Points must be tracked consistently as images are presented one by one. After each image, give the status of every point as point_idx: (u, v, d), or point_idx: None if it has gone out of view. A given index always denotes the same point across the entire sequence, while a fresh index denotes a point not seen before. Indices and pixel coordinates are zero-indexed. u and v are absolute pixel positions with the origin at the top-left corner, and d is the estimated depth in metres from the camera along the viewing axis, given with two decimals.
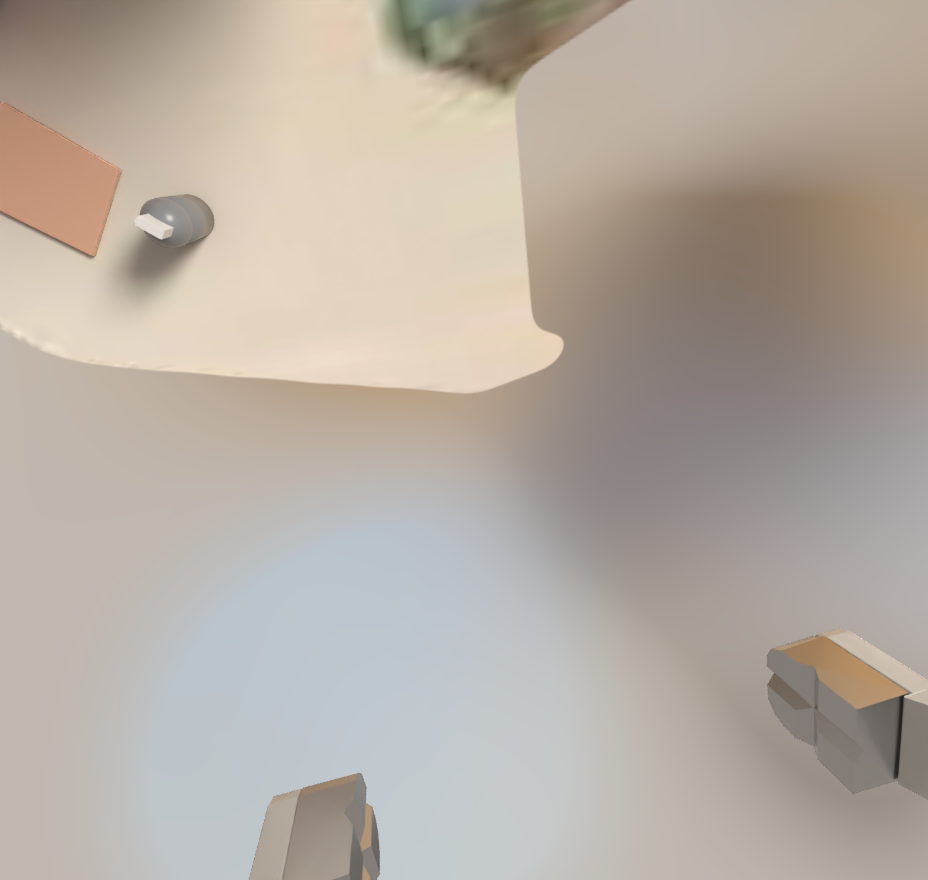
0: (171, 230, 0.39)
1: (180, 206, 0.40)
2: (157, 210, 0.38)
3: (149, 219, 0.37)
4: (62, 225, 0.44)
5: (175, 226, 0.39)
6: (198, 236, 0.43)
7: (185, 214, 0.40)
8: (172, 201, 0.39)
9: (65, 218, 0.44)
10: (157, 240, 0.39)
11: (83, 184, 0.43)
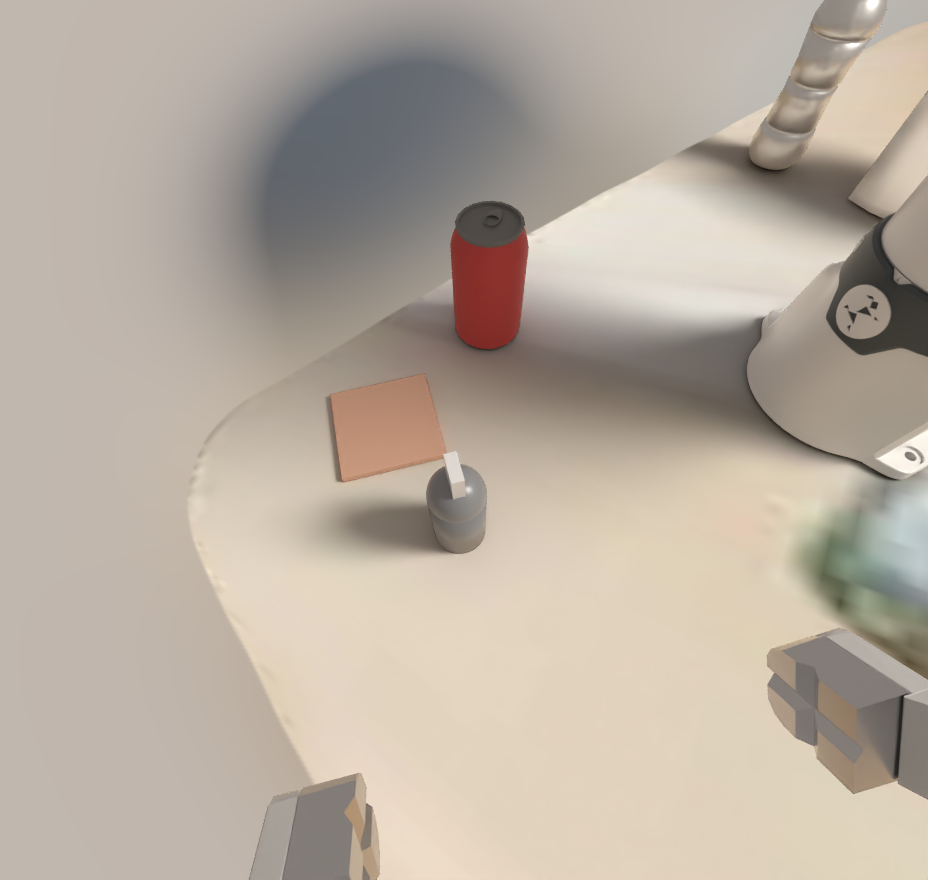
0: (462, 493, 0.27)
1: (486, 494, 0.30)
2: (469, 472, 0.29)
3: None
4: (354, 445, 0.39)
5: (467, 496, 0.28)
6: (459, 535, 0.31)
7: (484, 501, 0.29)
8: (484, 484, 0.30)
9: (364, 444, 0.39)
10: (434, 492, 0.28)
11: (409, 440, 0.39)
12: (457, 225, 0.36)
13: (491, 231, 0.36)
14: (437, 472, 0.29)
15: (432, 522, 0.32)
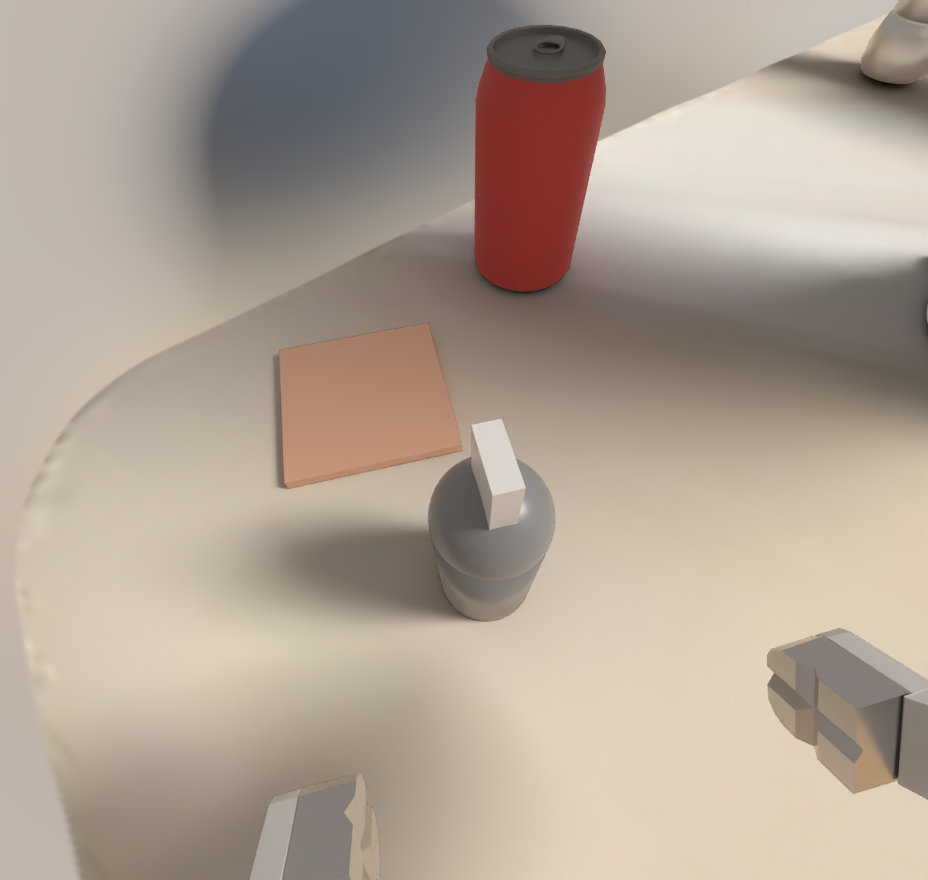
0: (512, 518, 0.12)
1: None
2: (522, 472, 0.13)
3: None
4: (311, 429, 0.24)
5: (521, 524, 0.12)
6: (493, 599, 0.16)
7: (552, 533, 0.14)
8: None
9: (326, 427, 0.24)
10: (446, 513, 0.13)
11: (400, 421, 0.24)
12: (490, 51, 0.21)
13: (549, 62, 0.21)
14: (453, 470, 0.14)
15: (438, 568, 0.17)
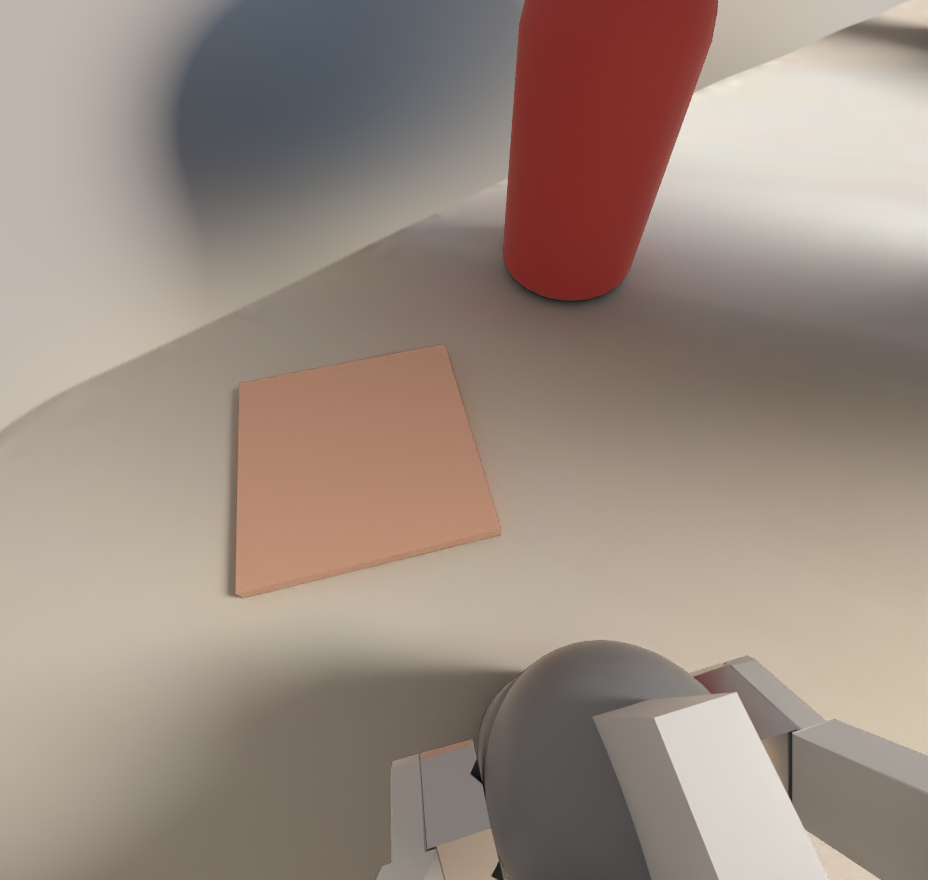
0: None
1: None
2: None
3: None
4: (279, 503, 0.16)
5: None
6: None
7: None
8: None
9: (301, 500, 0.16)
10: (542, 844, 0.05)
11: (410, 491, 0.16)
12: None
13: None
14: (542, 703, 0.06)
15: None
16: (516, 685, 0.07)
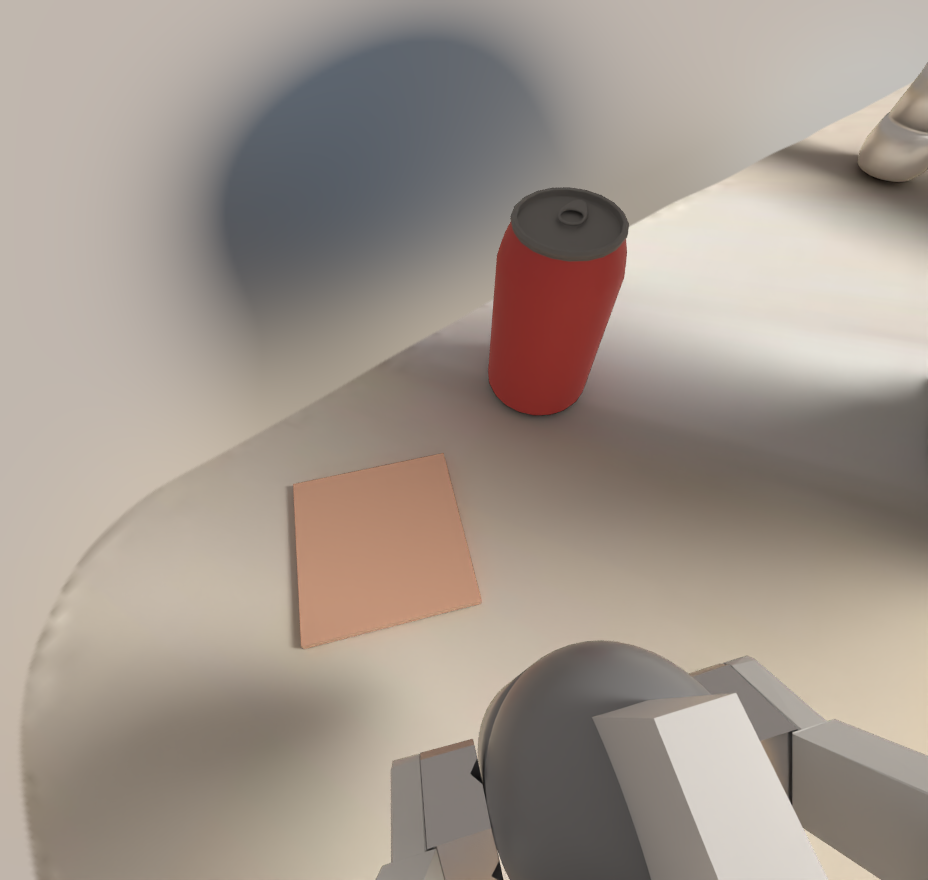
0: None
1: None
2: None
3: None
4: (327, 580, 0.23)
5: None
6: None
7: None
8: None
9: (342, 578, 0.23)
10: (542, 843, 0.05)
11: (418, 572, 0.24)
12: (515, 222, 0.21)
13: (573, 234, 0.21)
14: (543, 703, 0.06)
15: None
16: (516, 685, 0.07)
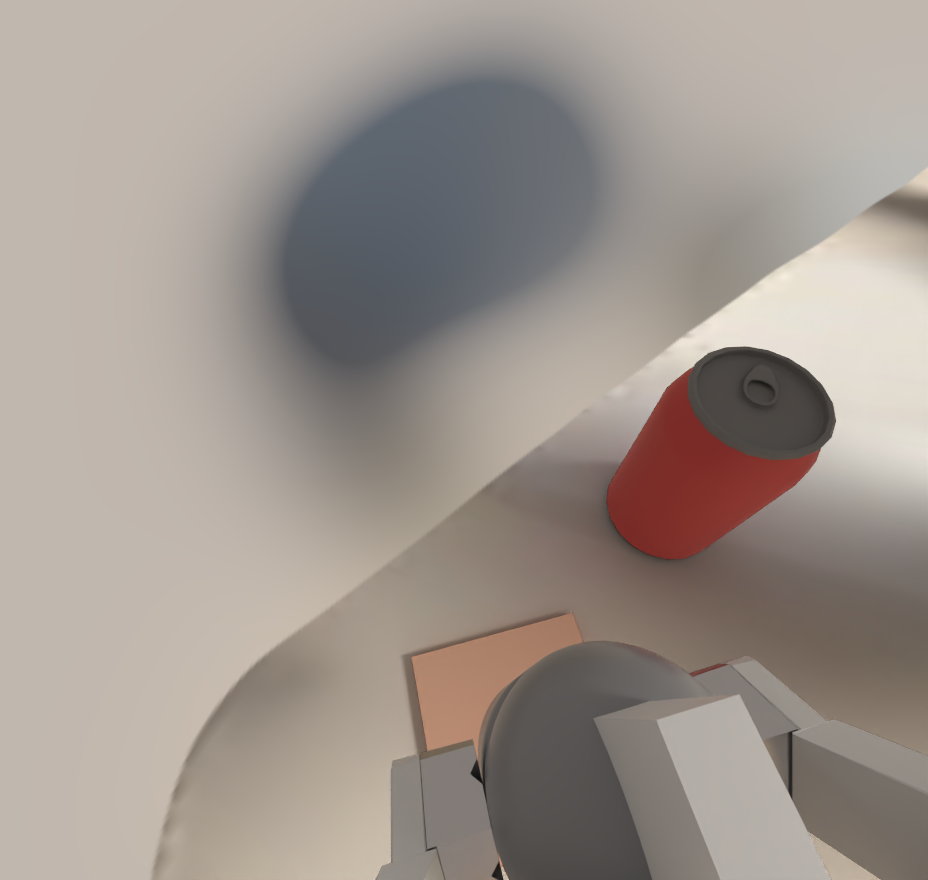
0: None
1: None
2: None
3: None
4: None
5: None
6: None
7: None
8: None
9: None
10: (543, 846, 0.05)
11: None
12: (698, 405, 0.18)
13: (767, 417, 0.18)
14: (543, 705, 0.06)
15: None
16: (517, 686, 0.07)
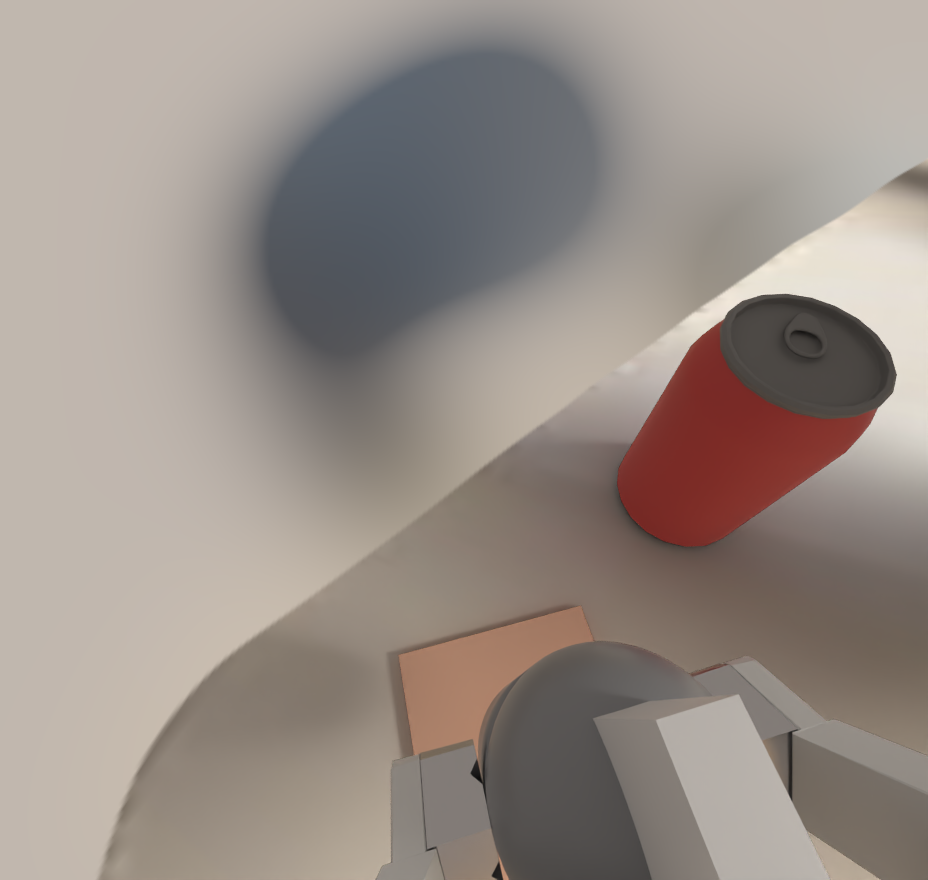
0: None
1: None
2: None
3: None
4: None
5: None
6: None
7: None
8: None
9: None
10: (542, 845, 0.05)
11: None
12: (734, 356, 0.15)
13: (814, 371, 0.15)
14: (543, 704, 0.06)
15: None
16: (517, 686, 0.07)
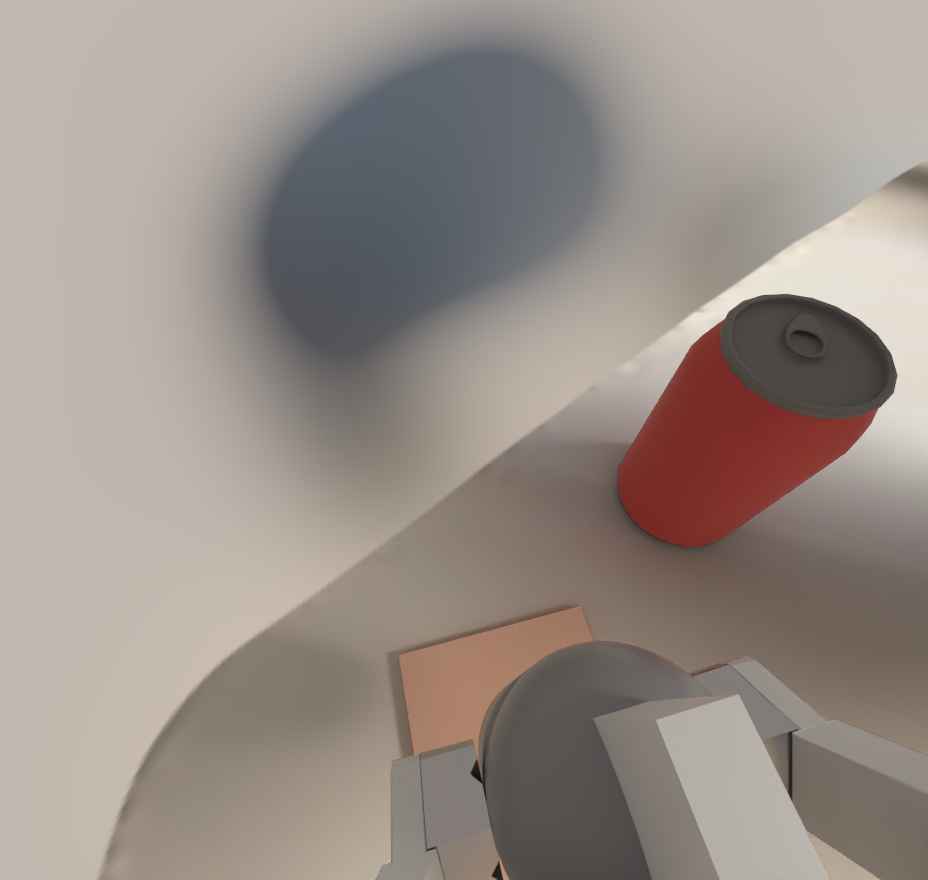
0: None
1: None
2: None
3: None
4: None
5: None
6: None
7: None
8: None
9: None
10: (542, 845, 0.05)
11: None
12: (735, 356, 0.15)
13: (815, 371, 0.15)
14: (543, 704, 0.06)
15: None
16: (517, 686, 0.07)
